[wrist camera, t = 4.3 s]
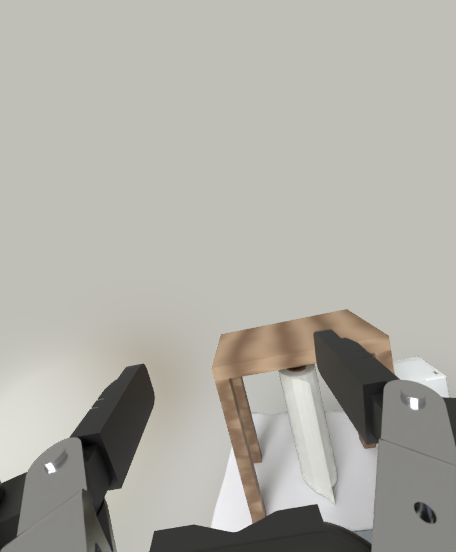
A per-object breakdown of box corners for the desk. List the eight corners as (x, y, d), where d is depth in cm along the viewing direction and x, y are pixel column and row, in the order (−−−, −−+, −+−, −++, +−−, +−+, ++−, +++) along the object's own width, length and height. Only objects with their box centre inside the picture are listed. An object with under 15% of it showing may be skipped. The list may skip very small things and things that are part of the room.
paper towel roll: (305, 453, 44) (283, 354, 41) (339, 463, 40) (317, 356, 38) (297, 491, 38) (270, 377, 35) (335, 506, 34) (309, 382, 32)
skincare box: (430, 429, 43) (420, 355, 41) (462, 463, 36) (451, 376, 34) (384, 433, 44) (371, 362, 42) (406, 467, 37) (392, 383, 36)
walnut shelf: (370, 438, 44) (346, 309, 40) (416, 509, 32) (388, 335, 29) (251, 454, 46) (221, 334, 43) (253, 526, 34) (211, 368, 31)
